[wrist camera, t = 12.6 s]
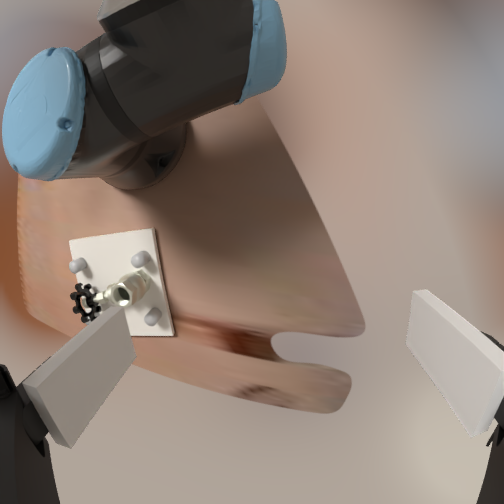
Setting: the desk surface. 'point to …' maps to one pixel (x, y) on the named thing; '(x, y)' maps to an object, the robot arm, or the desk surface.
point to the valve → (111, 294)
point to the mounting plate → (118, 264)
